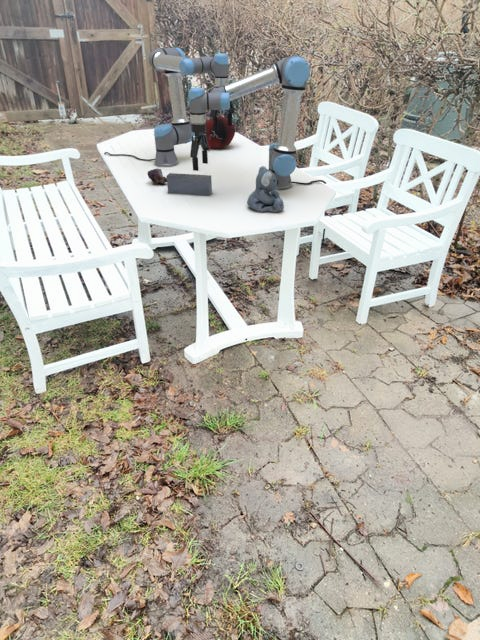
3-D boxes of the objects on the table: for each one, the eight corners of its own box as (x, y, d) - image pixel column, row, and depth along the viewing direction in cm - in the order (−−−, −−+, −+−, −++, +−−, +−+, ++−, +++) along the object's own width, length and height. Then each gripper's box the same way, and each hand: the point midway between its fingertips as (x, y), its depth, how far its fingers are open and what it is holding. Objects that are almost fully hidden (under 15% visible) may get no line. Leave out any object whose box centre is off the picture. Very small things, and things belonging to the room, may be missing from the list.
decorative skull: (200, 122, 333) (198, 119, 310) (231, 115, 333) (232, 111, 309) (207, 152, 340) (206, 151, 317) (237, 145, 339) (238, 143, 316)
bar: (168, 193, 247) (166, 175, 241) (171, 190, 251) (169, 173, 245) (209, 196, 242) (208, 178, 237) (212, 192, 247) (211, 175, 241)
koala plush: (284, 213, 221) (286, 172, 209) (248, 214, 219) (248, 174, 208) (279, 200, 235) (281, 162, 224) (245, 202, 234) (245, 163, 223)
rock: (162, 181, 267) (146, 183, 263) (160, 166, 263) (144, 168, 259) (169, 183, 258) (152, 185, 254) (167, 168, 254) (150, 170, 250)
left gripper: (213, 89, 236) (214, 132, 248) (240, 84, 252) (240, 124, 264) (202, 88, 239) (204, 130, 251) (229, 83, 256) (230, 123, 268)
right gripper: (196, 128, 211) (198, 174, 223) (214, 118, 231) (215, 161, 243) (181, 127, 213) (184, 173, 225) (200, 118, 232) (202, 160, 244)
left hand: (222, 127), depth 258 cm, fingers open, 13 cm apart
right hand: (200, 166), depth 234 cm, fingers open, 13 cm apart
